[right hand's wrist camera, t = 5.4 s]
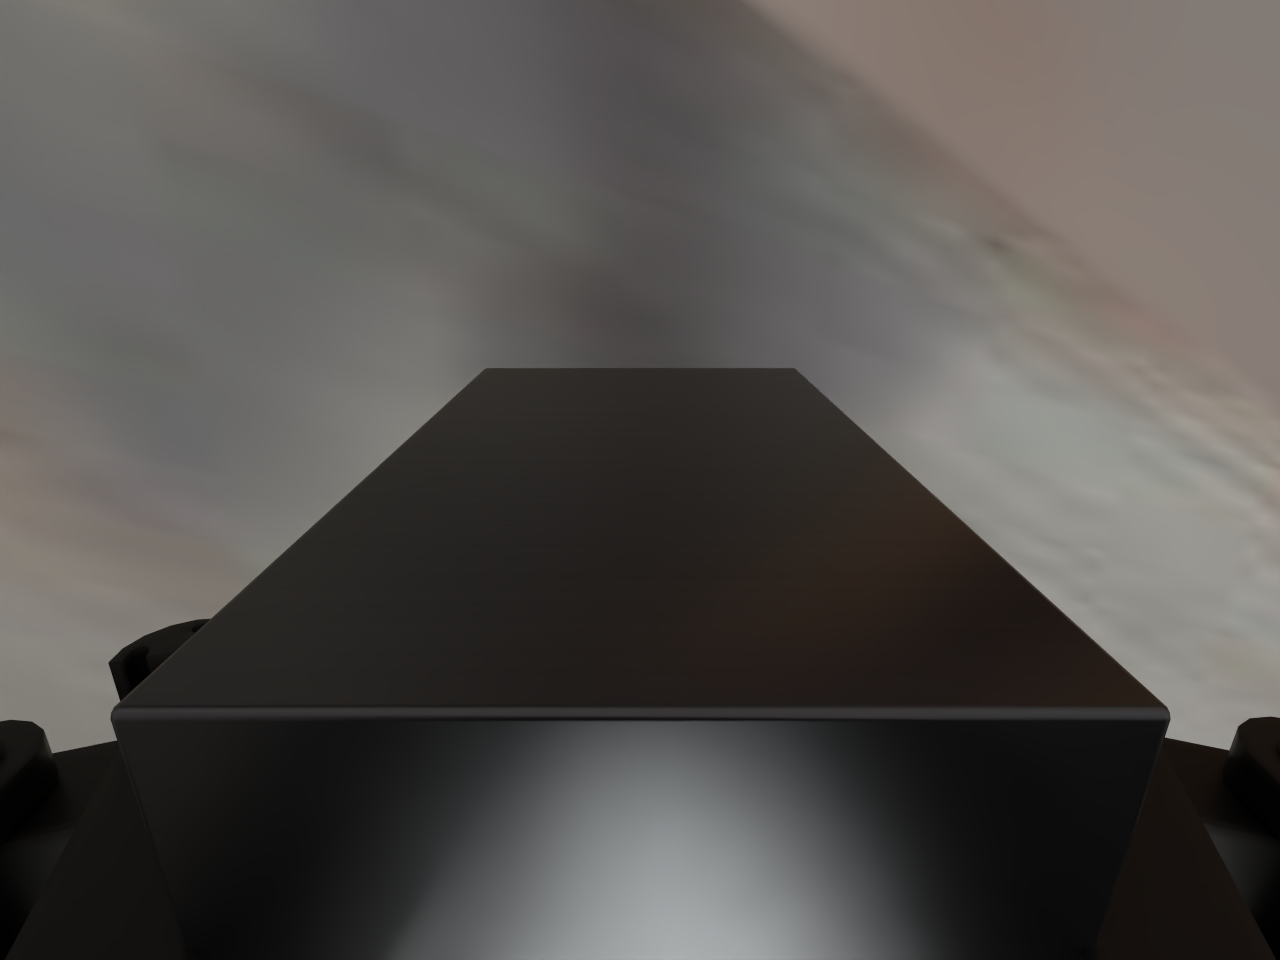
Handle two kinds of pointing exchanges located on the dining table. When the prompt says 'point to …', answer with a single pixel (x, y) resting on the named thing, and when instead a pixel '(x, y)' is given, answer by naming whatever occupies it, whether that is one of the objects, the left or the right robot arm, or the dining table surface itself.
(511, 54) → the dining table surface
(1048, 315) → the dining table surface
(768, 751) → the box
